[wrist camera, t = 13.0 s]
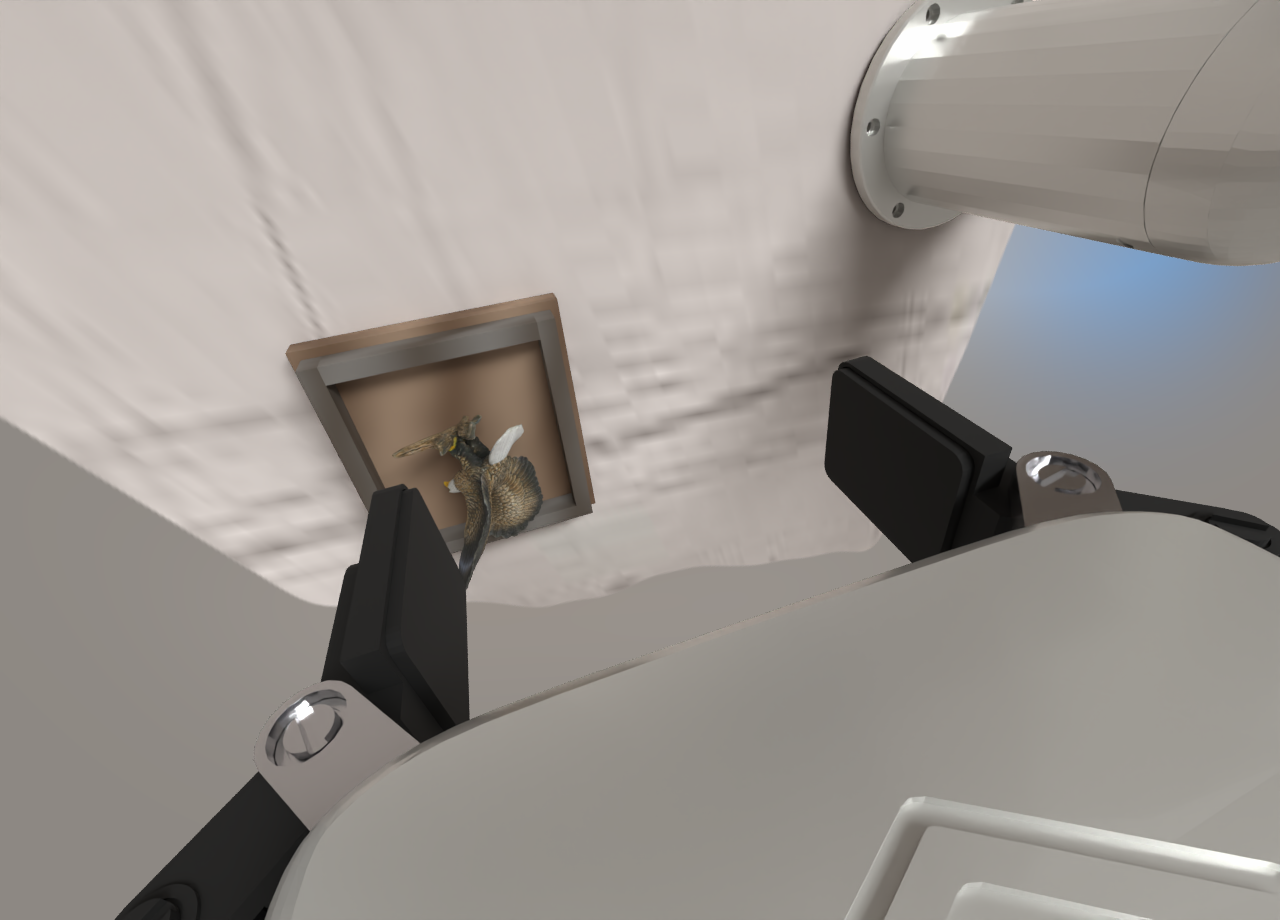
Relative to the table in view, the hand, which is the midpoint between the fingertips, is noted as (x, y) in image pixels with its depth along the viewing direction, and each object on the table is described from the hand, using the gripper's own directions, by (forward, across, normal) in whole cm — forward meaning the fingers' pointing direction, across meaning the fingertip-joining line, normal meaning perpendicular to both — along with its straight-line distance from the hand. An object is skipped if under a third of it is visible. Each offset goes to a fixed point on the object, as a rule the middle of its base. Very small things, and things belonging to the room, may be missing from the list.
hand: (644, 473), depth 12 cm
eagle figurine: (+20, +7, +12) cm, 24 cm away
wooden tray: (+21, +7, +10) cm, 25 cm away
